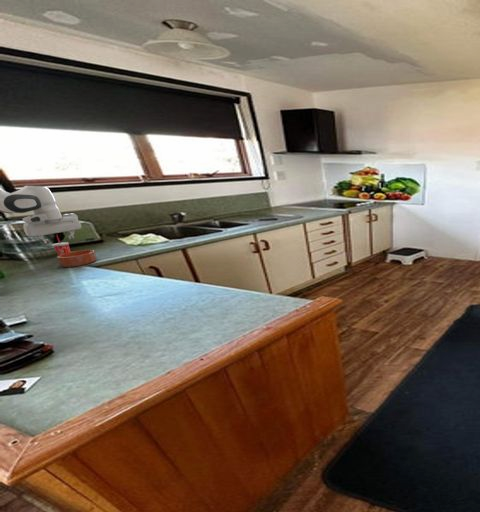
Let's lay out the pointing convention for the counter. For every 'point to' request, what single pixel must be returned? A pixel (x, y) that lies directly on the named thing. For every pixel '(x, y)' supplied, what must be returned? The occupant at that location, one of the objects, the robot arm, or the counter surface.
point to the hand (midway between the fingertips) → (60, 240)
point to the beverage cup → (61, 247)
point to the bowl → (77, 258)
